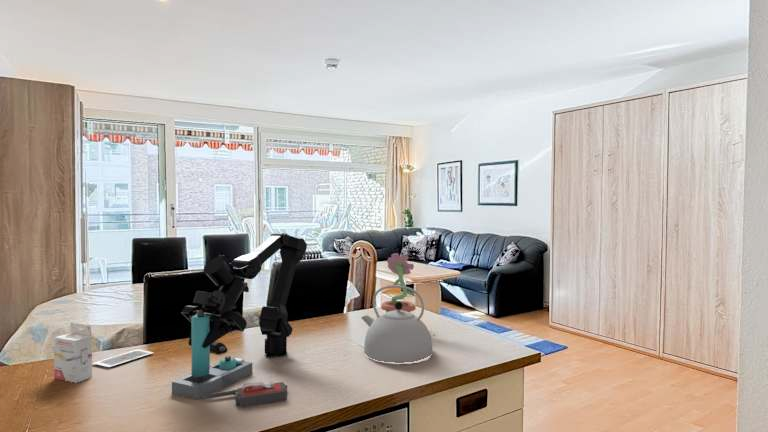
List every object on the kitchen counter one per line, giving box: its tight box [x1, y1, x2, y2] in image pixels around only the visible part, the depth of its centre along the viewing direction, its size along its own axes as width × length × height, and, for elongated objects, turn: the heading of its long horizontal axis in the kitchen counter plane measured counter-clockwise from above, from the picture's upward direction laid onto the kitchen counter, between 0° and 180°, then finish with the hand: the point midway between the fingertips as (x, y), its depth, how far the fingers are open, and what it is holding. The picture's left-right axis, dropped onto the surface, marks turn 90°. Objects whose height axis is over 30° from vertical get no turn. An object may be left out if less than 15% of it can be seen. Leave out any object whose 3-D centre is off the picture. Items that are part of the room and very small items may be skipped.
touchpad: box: [92, 348, 154, 368], centre depth 140 cm, size 8×15×2 cm, turn 155°
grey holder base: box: [171, 355, 253, 400], centre depth 123 cm, size 20×9×6 cm, turn 156°
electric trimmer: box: [210, 341, 228, 354], centre depth 153 cm, size 4×16×3 cm, turn 54°
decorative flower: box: [380, 252, 417, 313], centre depth 181 cm, size 15×14×30 cm
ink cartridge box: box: [54, 322, 93, 384], centre depth 125 cm, size 9×5×15 cm, turn 71°
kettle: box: [361, 284, 433, 363], centre depth 150 cm, size 25×23×22 cm
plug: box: [190, 309, 211, 377], centre depth 118 cm, size 4×4×16 cm
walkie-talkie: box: [204, 380, 288, 409], centre depth 113 cm, size 9×4×20 cm
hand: (196, 346), depth 117 cm, fingers closed on plug, 4 cm apart
